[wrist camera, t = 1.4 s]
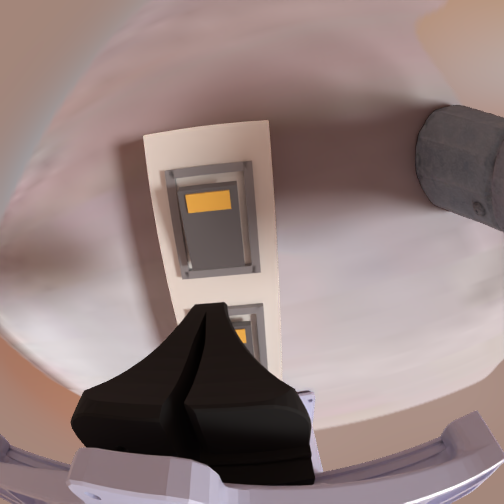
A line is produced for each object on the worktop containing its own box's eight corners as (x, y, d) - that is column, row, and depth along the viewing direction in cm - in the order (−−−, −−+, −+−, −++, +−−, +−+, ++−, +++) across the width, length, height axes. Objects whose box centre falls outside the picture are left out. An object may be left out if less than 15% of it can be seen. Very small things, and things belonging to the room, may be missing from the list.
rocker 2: (256, 379, 20) (257, 385, 20) (215, 382, 20) (214, 388, 20) (250, 320, 19) (251, 325, 19) (205, 324, 19) (203, 329, 19)
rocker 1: (244, 259, 18) (245, 266, 17) (193, 263, 18) (192, 271, 17) (236, 180, 15) (237, 185, 15) (179, 187, 15) (176, 192, 14)
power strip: (278, 366, 26) (283, 393, 22) (200, 372, 25) (197, 400, 22) (263, 122, 18) (269, 119, 15) (156, 135, 18) (140, 135, 15)
